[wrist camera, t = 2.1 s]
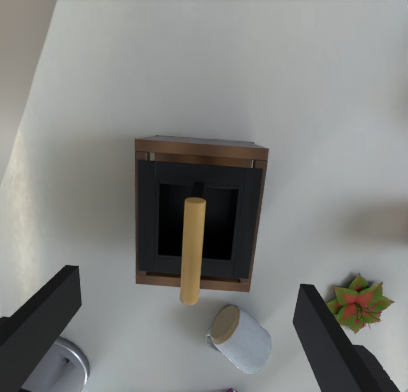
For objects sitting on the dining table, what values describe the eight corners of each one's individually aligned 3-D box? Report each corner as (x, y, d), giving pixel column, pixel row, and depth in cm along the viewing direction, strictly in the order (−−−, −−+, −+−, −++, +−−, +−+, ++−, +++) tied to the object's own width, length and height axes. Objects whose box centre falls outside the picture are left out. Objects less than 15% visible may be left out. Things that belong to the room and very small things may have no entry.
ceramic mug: (235, 294, 43) (240, 328, 36) (267, 321, 44) (277, 359, 37) (195, 328, 46) (191, 366, 38) (226, 352, 47) (228, 394, 39)
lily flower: (352, 340, 45) (367, 363, 41) (306, 305, 43) (317, 325, 39) (404, 298, 42) (427, 317, 38) (357, 259, 41) (375, 275, 36)
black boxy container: (152, 242, 34) (113, 317, 20) (153, 153, 31) (108, 172, 17) (240, 249, 34) (261, 329, 20) (251, 160, 31) (284, 185, 17)
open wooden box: (155, 235, 41) (130, 283, 28) (157, 135, 36) (128, 138, 24) (241, 242, 41) (254, 293, 28) (253, 142, 36) (275, 149, 24)
